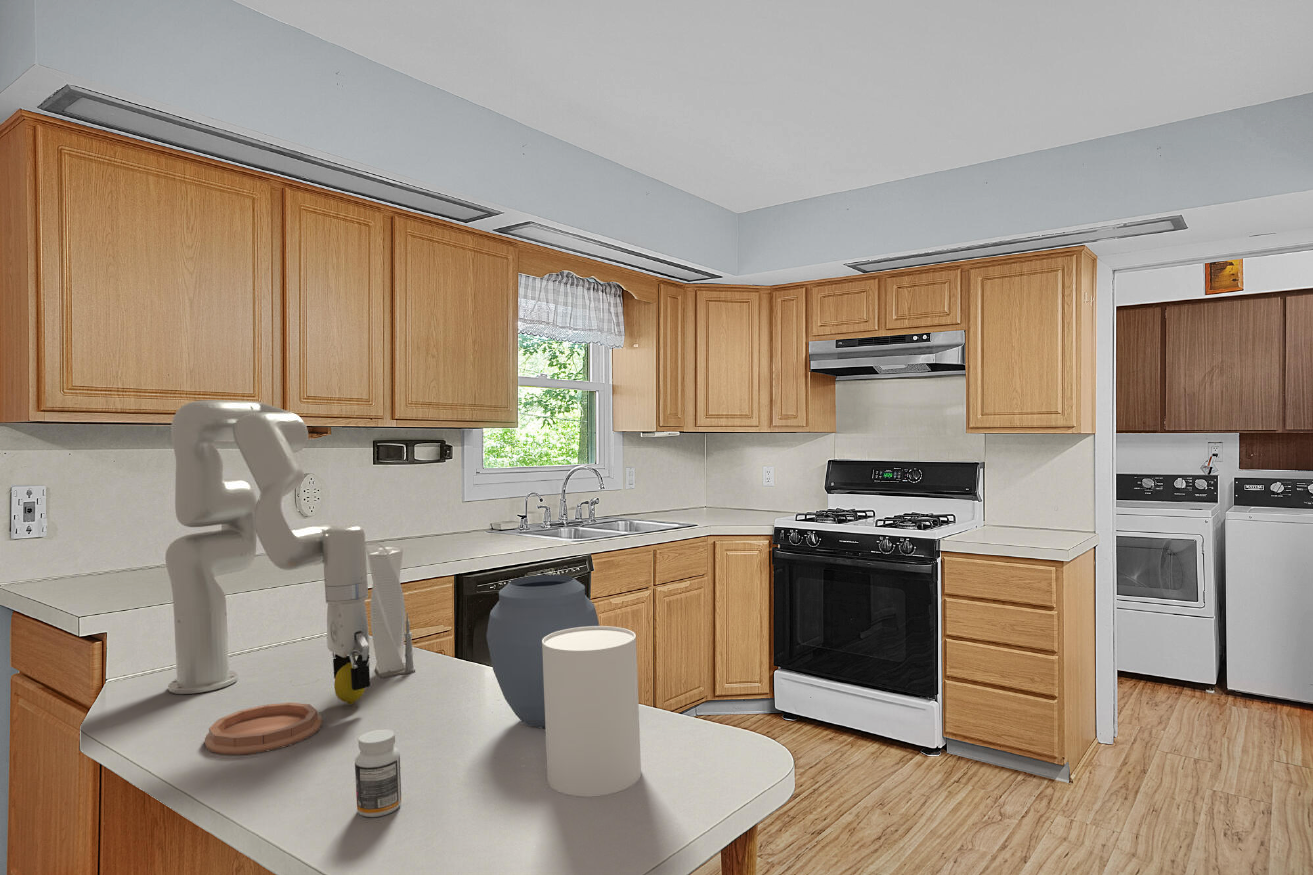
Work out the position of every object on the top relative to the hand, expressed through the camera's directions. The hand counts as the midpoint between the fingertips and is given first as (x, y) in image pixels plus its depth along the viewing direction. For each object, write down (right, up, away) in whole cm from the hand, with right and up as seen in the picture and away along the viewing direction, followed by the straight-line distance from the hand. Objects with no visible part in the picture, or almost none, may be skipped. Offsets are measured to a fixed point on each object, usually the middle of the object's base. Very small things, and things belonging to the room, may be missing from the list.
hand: (351, 682), depth 151 cm
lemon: (0, -4, 0) cm, 4 cm away
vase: (+38, -3, -12) cm, 40 cm away
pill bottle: (+20, -4, -43) cm, 47 cm away
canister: (+48, -3, -35) cm, 60 cm away
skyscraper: (0, -4, +21) cm, 22 cm away
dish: (-10, -5, -13) cm, 17 cm away
